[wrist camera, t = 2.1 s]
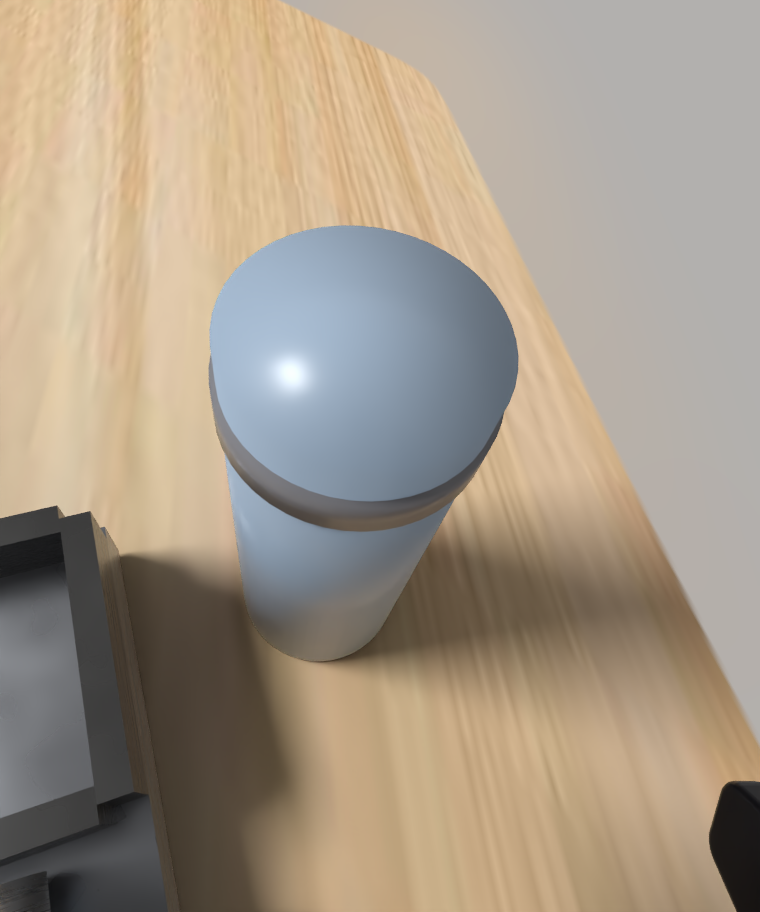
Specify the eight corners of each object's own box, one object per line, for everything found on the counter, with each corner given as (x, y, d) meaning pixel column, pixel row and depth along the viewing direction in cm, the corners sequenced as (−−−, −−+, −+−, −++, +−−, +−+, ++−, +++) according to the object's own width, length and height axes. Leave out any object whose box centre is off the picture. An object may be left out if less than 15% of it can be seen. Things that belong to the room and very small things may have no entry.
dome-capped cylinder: (417, 636, 21) (578, 434, 10) (262, 686, 20) (248, 518, 9) (367, 498, 24) (453, 206, 12) (224, 535, 22) (173, 242, 11)
